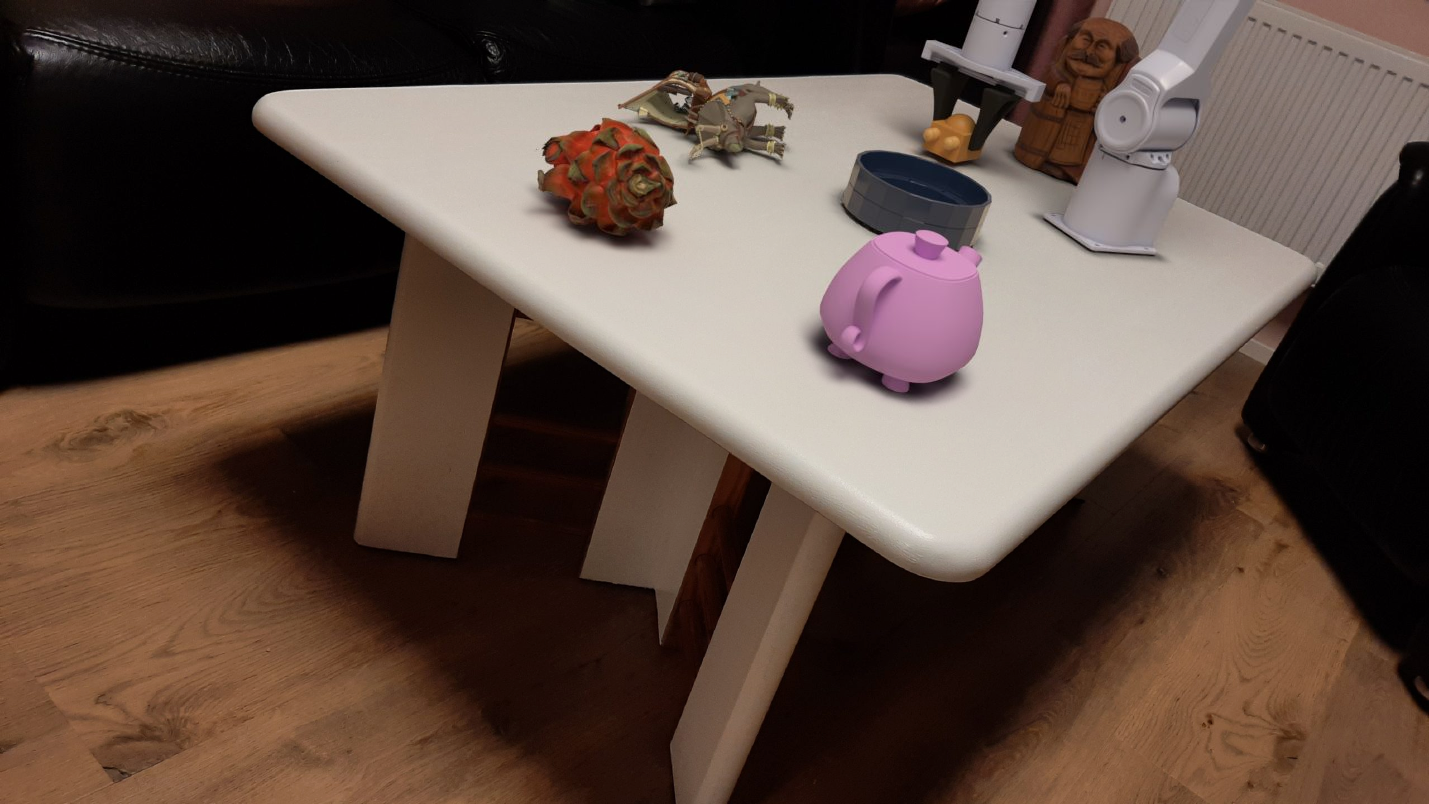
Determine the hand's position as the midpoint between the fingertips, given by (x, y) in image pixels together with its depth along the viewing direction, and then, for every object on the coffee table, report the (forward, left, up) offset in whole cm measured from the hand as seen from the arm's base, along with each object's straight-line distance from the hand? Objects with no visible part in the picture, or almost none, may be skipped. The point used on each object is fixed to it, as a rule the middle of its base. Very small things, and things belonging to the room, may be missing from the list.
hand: (955, 141), depth 119 cm
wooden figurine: (-16, 0, -2) cm, 16 cm away
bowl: (+19, +20, -2) cm, 28 cm away
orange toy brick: (0, 0, -1) cm, 1 cm away
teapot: (+36, +44, -2) cm, 57 cm away
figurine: (+33, +2, -2) cm, 33 cm away
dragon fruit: (+51, +24, -2) cm, 57 cm away
